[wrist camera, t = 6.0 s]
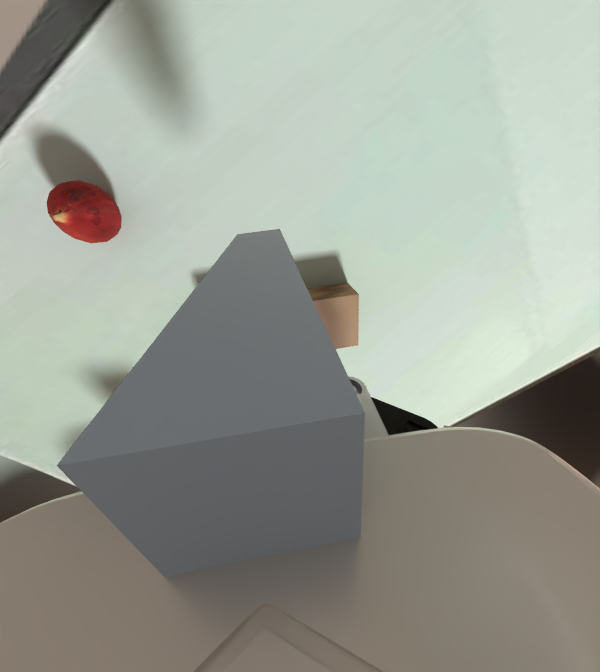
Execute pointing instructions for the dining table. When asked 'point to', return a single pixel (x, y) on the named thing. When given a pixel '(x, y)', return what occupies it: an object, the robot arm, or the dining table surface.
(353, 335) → the slotted base
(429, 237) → the dining table surface
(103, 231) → the red pomegranate
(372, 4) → the dining table surface
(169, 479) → the grey block
